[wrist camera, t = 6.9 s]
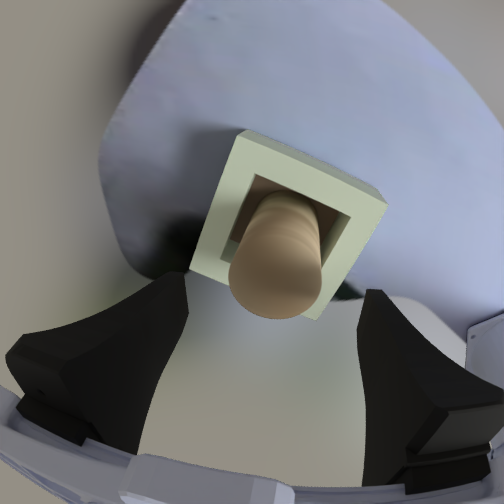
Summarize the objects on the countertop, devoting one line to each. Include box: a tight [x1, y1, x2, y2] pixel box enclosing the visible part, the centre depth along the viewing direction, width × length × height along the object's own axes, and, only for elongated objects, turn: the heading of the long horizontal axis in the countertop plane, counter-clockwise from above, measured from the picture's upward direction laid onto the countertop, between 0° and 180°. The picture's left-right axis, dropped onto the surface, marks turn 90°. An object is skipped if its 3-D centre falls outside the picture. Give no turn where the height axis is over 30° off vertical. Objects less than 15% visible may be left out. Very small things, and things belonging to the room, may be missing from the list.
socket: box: [189, 129, 388, 321], centre depth 19 cm, size 8×8×3 cm
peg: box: [228, 190, 322, 319], centre depth 17 cm, size 4×4×7 cm
